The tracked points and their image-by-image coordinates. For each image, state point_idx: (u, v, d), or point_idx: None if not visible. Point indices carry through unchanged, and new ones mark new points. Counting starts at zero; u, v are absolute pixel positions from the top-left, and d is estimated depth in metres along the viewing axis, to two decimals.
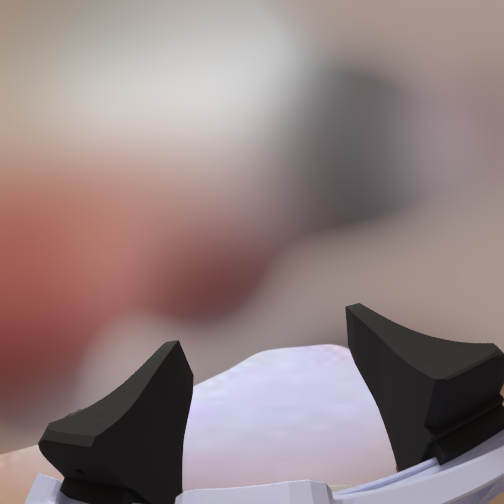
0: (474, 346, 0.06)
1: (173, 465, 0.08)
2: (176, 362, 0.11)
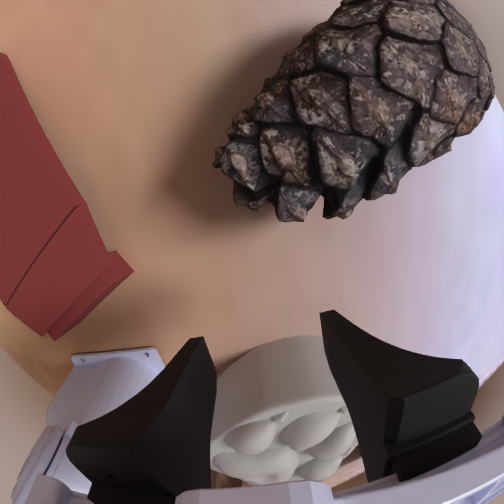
0: (441, 361, 0.06)
1: (203, 465, 0.08)
2: (202, 359, 0.11)
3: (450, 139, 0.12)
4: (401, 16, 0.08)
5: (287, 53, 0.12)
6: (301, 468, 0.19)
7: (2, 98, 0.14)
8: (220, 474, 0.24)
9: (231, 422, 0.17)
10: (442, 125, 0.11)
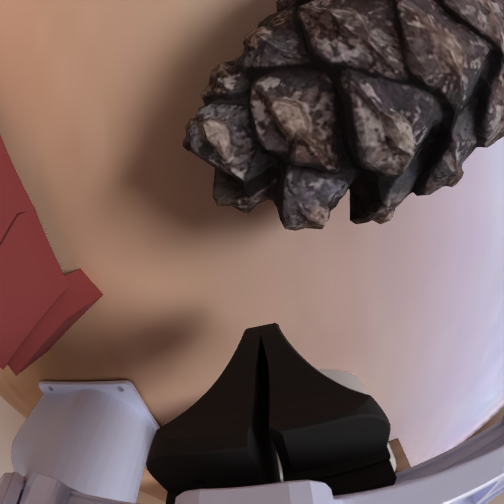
0: (347, 394, 0.06)
1: (275, 457, 0.08)
2: (263, 348, 0.11)
3: None
4: None
5: None
6: None
7: None
8: None
9: None
10: None
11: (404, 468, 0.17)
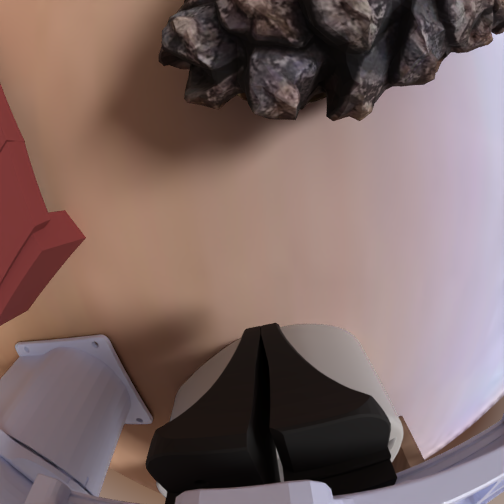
0: (348, 394, 0.06)
1: (275, 457, 0.08)
2: (263, 348, 0.11)
3: (490, 14, 0.05)
4: None
5: None
6: None
7: None
8: None
9: None
10: None
11: (410, 448, 0.16)
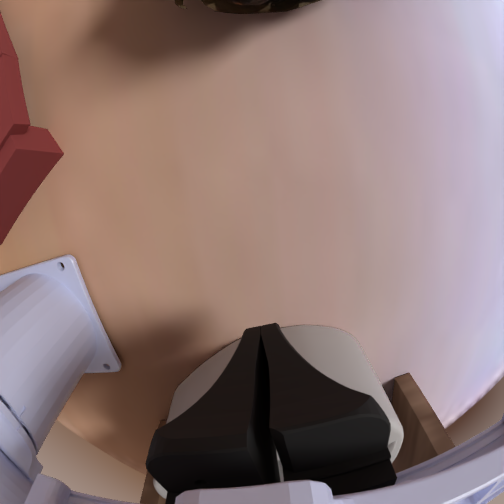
0: (348, 394, 0.06)
1: (275, 458, 0.08)
2: (263, 348, 0.11)
3: None
4: None
5: None
6: None
7: None
8: None
9: None
10: None
11: (422, 407, 0.15)
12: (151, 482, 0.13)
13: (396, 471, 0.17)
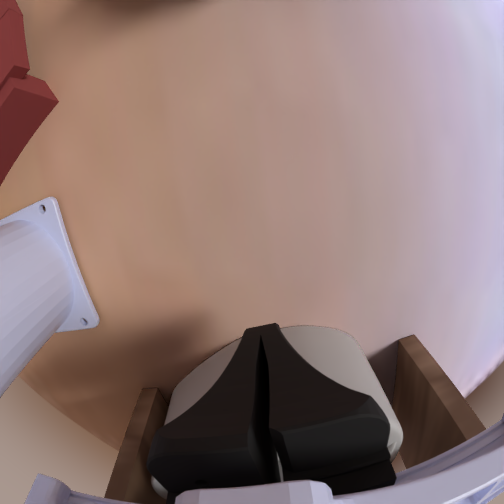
0: (348, 394, 0.06)
1: (275, 457, 0.08)
2: (263, 348, 0.11)
3: None
4: None
5: None
6: None
7: None
8: None
9: None
10: None
11: (431, 369, 0.14)
12: (125, 454, 0.12)
13: (403, 452, 0.16)
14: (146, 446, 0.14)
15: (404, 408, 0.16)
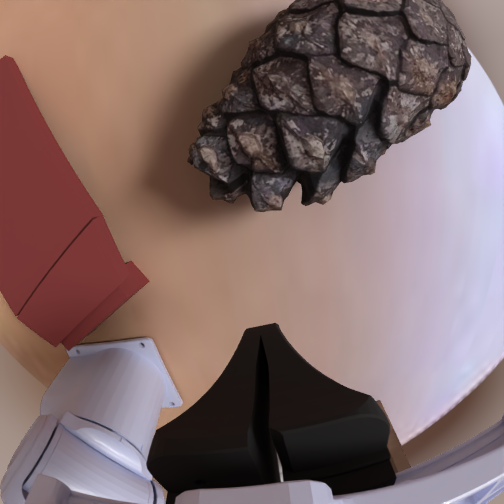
0: (348, 394, 0.06)
1: (275, 457, 0.08)
2: (263, 348, 0.11)
3: (425, 112, 0.11)
4: None
5: (250, 43, 0.12)
6: None
7: (10, 104, 0.15)
8: None
9: None
10: (414, 97, 0.10)
11: None
12: None
13: None
14: None
15: None
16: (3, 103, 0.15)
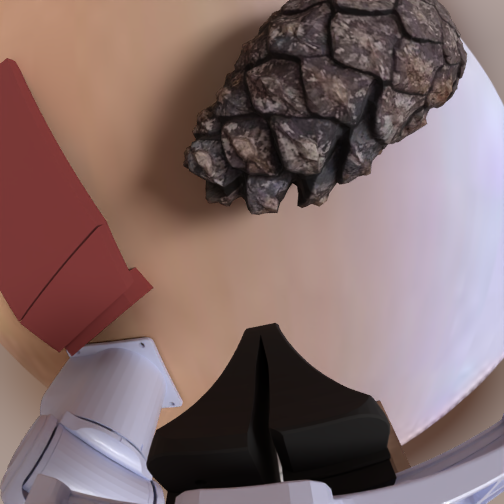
0: (348, 394, 0.06)
1: (275, 457, 0.08)
2: (263, 348, 0.11)
3: (421, 111, 0.11)
4: None
5: (243, 46, 0.12)
6: None
7: (13, 108, 0.15)
8: None
9: None
10: (409, 97, 0.10)
11: None
12: None
13: None
14: None
15: None
16: (5, 107, 0.15)
